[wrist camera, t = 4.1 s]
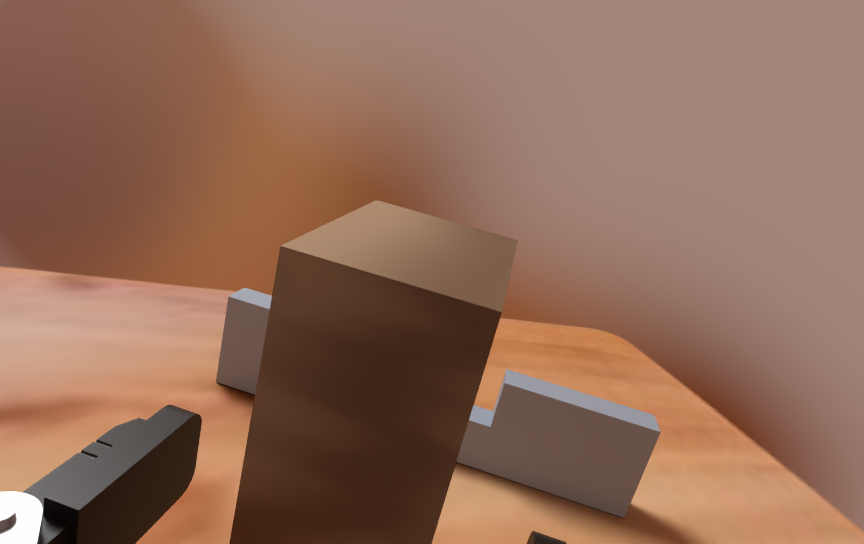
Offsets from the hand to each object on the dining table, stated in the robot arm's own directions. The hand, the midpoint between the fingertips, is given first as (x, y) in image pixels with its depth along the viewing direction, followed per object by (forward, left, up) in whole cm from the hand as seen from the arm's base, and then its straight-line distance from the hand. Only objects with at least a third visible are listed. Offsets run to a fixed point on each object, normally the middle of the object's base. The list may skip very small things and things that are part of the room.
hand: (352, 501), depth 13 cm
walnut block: (0, +1, -8) cm, 8 cm away
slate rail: (0, +15, -8) cm, 17 cm away
